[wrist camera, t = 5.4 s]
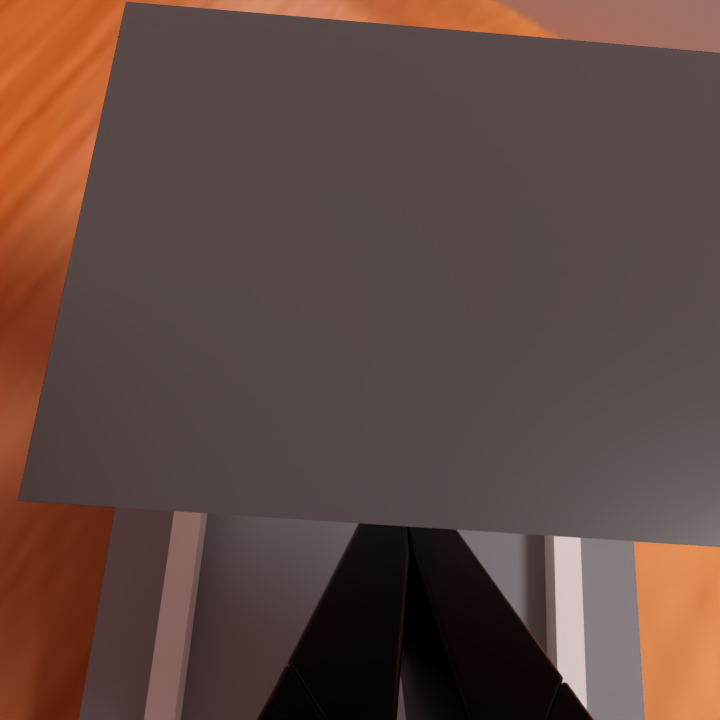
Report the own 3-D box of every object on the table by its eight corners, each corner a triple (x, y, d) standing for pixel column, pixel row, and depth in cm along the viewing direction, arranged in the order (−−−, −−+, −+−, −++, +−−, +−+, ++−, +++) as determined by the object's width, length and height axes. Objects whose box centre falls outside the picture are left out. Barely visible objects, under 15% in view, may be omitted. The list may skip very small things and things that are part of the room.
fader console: (615, 961, 13) (682, 1066, 11) (74, 935, 13) (11, 1037, 10) (586, 328, 17) (630, 295, 15) (176, 298, 17) (148, 258, 14)
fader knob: (512, 533, 13) (934, 561, 4) (243, 515, 13) (17, 501, 4) (510, 361, 14) (838, 63, 5) (262, 343, 14) (125, 0, 5)
